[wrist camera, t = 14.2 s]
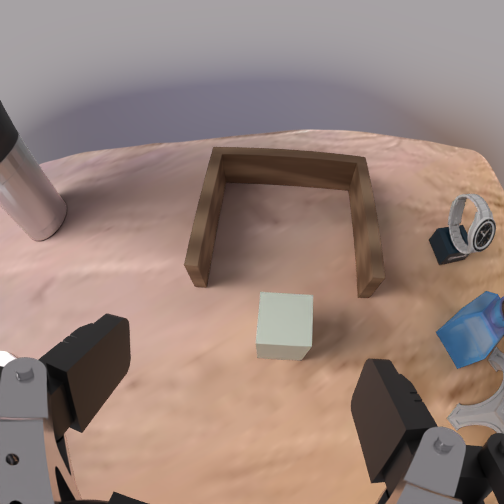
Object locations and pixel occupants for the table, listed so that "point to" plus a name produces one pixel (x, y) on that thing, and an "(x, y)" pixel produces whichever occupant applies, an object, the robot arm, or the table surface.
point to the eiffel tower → (483, 404)
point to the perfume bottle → (474, 330)
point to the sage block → (284, 326)
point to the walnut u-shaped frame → (293, 174)
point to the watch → (463, 232)
